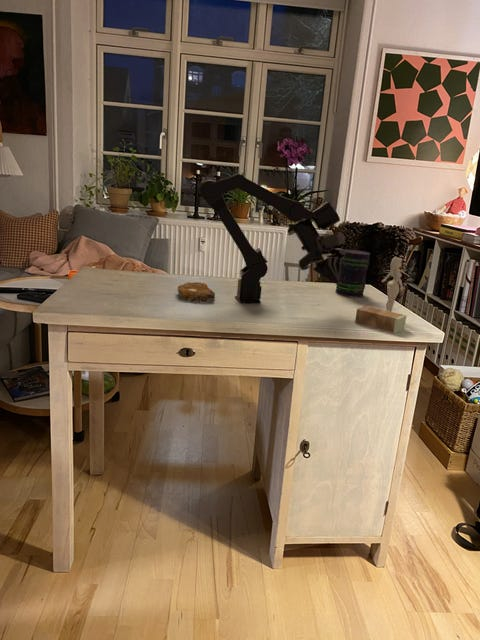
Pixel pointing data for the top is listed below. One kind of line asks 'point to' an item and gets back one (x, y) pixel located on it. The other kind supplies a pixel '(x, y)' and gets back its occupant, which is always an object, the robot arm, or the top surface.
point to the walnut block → (380, 319)
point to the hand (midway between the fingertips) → (337, 282)
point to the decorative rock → (195, 292)
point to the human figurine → (393, 282)
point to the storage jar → (352, 273)
